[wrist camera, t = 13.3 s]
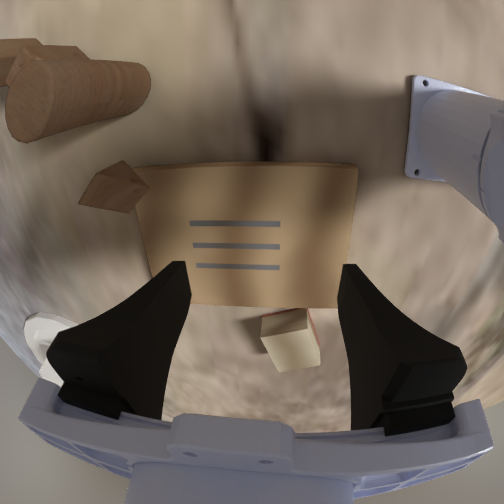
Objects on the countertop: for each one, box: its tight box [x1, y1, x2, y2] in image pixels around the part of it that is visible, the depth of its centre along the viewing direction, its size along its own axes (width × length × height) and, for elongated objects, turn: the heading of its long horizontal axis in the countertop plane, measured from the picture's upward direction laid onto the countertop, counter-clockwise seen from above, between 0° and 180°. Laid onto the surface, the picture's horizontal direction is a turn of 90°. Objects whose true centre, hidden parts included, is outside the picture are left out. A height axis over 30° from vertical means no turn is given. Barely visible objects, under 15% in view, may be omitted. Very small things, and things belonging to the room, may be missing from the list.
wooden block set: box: [0, 38, 151, 214], centre depth 14 cm, size 18×9×10 cm, turn 43°
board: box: [132, 161, 359, 308], centre depth 24 cm, size 17×13×1 cm
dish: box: [24, 313, 79, 387], centre depth 36 cm, size 25×25×11 cm
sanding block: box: [260, 308, 321, 372], centre depth 29 cm, size 5×6×3 cm
